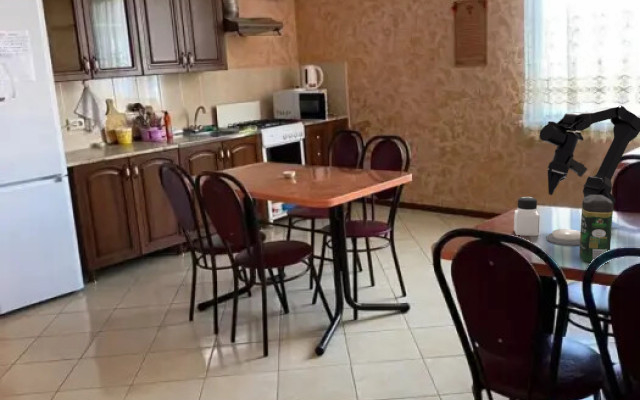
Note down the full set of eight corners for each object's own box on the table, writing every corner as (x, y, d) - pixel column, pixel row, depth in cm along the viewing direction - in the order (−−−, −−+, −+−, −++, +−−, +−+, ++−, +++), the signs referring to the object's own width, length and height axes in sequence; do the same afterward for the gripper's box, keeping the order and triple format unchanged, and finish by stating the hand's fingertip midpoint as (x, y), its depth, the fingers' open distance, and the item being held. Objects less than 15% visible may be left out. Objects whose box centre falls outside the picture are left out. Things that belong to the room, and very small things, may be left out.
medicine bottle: (538, 236, 204) (540, 200, 202) (515, 235, 206) (517, 200, 203) (535, 230, 211) (537, 195, 209) (513, 230, 213) (515, 195, 210)
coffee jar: (577, 253, 185) (580, 192, 181) (606, 255, 183) (610, 193, 179) (580, 263, 176) (584, 199, 172) (611, 265, 174) (616, 200, 170)
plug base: (557, 233, 207) (557, 226, 206) (593, 239, 199) (594, 232, 198) (540, 241, 199) (540, 233, 198) (577, 247, 190) (578, 240, 190)
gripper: (592, 153, 197) (576, 200, 198) (588, 159, 214) (573, 202, 215) (556, 143, 201) (540, 189, 202) (555, 150, 218) (541, 192, 219)
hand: (550, 194), depth 209 cm, fingers open, 9 cm apart
